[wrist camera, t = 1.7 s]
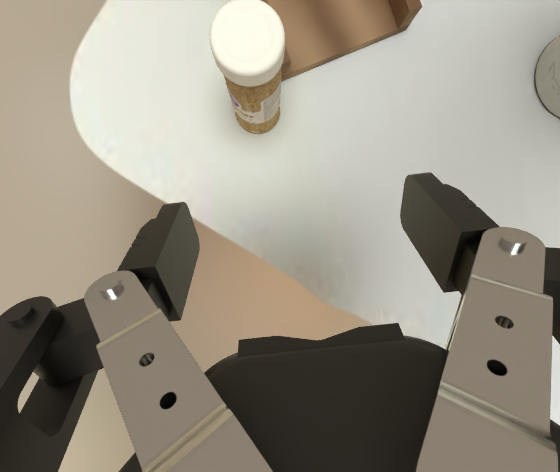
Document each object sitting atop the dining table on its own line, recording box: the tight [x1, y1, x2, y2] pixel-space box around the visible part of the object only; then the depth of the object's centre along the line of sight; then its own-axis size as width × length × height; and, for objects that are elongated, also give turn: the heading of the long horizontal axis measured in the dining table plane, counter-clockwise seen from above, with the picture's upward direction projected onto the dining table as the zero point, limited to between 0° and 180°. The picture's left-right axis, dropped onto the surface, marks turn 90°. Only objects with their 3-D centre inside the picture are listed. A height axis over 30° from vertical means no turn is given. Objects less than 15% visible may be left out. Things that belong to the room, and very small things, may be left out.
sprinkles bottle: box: [210, 0, 285, 133], centre depth 25 cm, size 5×5×14 cm
